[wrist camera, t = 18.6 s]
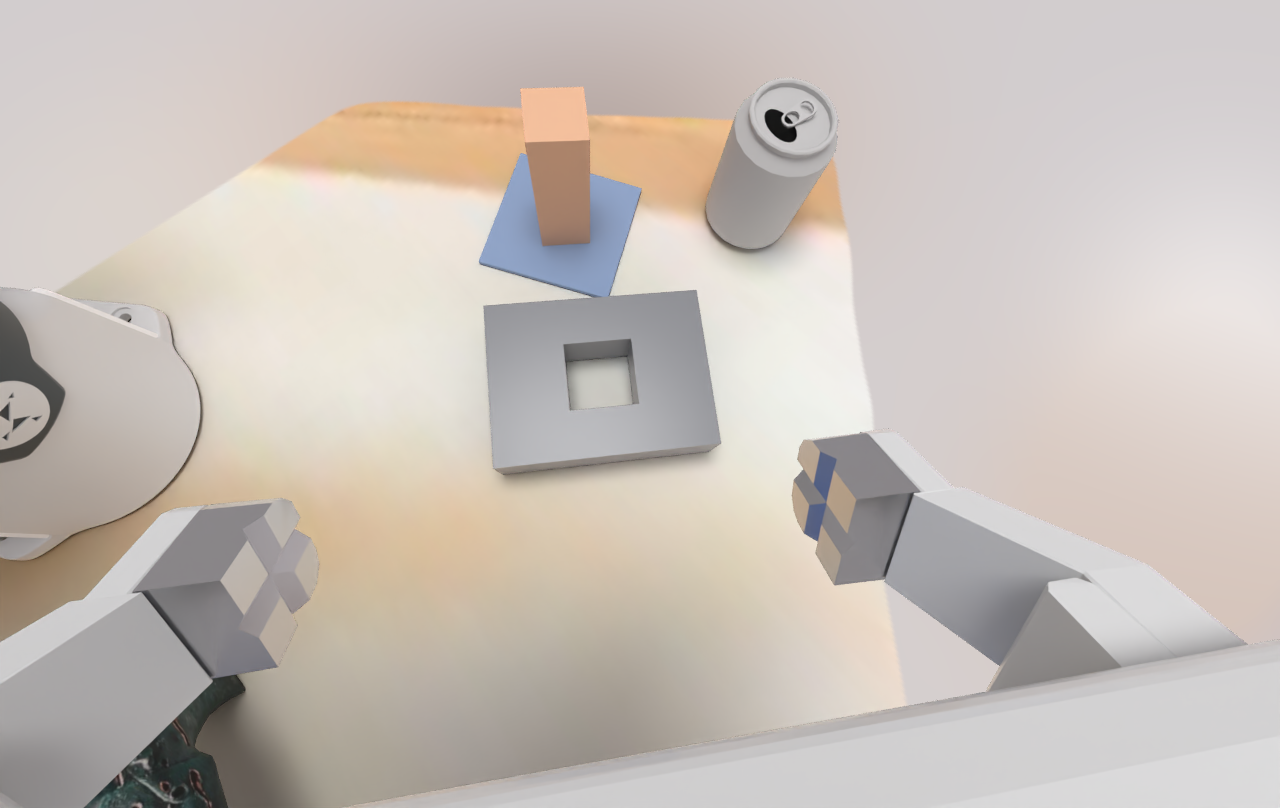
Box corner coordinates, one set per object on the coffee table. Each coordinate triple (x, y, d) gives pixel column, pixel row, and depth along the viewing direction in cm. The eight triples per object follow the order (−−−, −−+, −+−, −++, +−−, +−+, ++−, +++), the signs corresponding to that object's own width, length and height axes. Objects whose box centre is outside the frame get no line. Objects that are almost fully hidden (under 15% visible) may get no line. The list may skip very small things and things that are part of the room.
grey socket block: (502, 474, 39) (493, 468, 35) (493, 326, 42) (483, 305, 38) (708, 451, 41) (720, 443, 37) (687, 311, 44) (696, 289, 40)
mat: (479, 263, 43) (478, 261, 43) (521, 156, 46) (520, 153, 45) (607, 300, 43) (607, 298, 43) (641, 191, 46) (641, 188, 46)
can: (687, 202, 46) (719, 92, 35) (753, 167, 48) (805, 51, 36) (735, 268, 45) (785, 178, 34) (801, 230, 47) (871, 131, 35)
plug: (542, 246, 44) (524, 142, 32) (538, 204, 44) (520, 88, 33) (590, 243, 44) (589, 139, 32) (585, 201, 45) (583, 86, 33)
